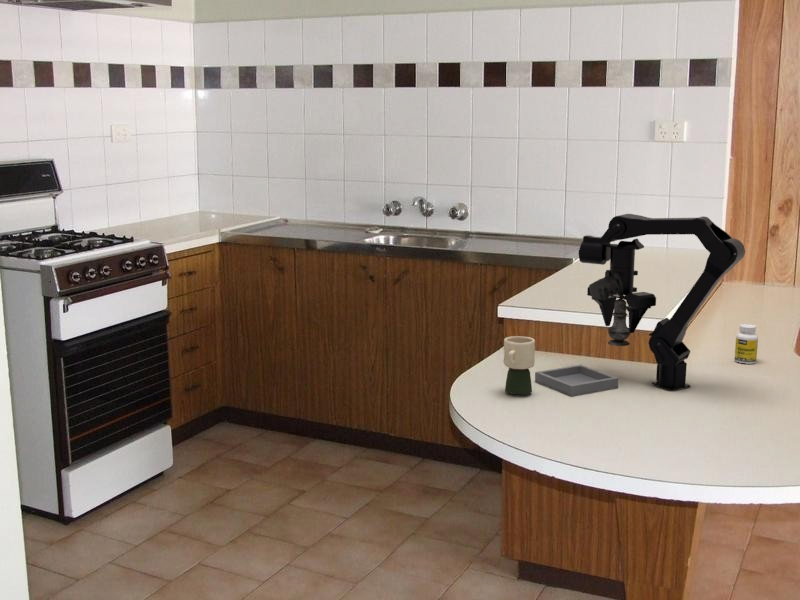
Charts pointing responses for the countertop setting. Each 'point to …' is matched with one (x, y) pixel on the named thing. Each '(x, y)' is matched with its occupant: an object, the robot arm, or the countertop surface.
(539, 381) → the charcoal tray
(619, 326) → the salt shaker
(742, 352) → the supplement bottle
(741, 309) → the countertop surface
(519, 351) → the character mug
